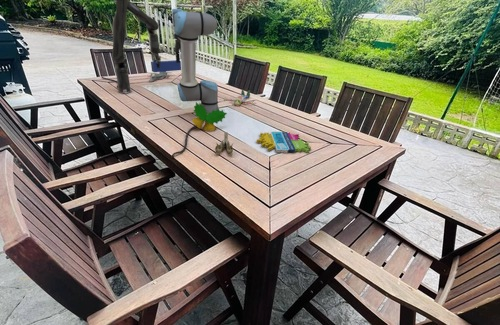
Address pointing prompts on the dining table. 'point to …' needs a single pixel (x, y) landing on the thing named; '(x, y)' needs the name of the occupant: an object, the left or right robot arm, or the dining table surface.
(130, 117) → the dining table surface
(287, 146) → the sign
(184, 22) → the right robot arm
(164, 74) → the airplane
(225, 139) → the jawbone
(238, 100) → the toy
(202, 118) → the ornament
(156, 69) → the bar
